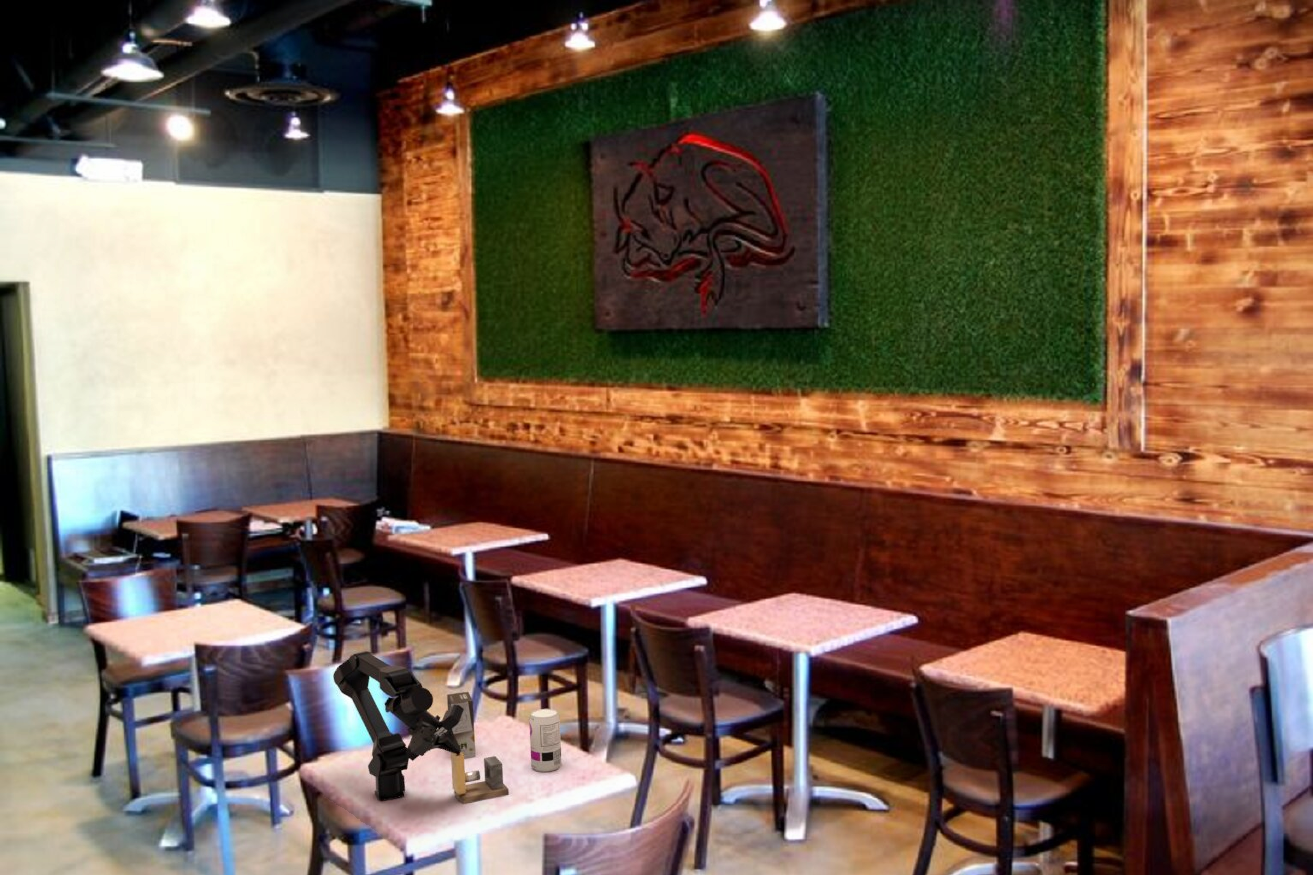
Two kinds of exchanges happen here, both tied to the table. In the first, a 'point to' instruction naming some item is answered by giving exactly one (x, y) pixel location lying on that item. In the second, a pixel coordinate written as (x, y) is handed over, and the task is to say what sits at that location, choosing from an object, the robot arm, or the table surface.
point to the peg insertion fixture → (486, 783)
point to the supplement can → (545, 740)
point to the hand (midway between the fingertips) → (459, 752)
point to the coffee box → (464, 723)
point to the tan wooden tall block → (461, 773)
